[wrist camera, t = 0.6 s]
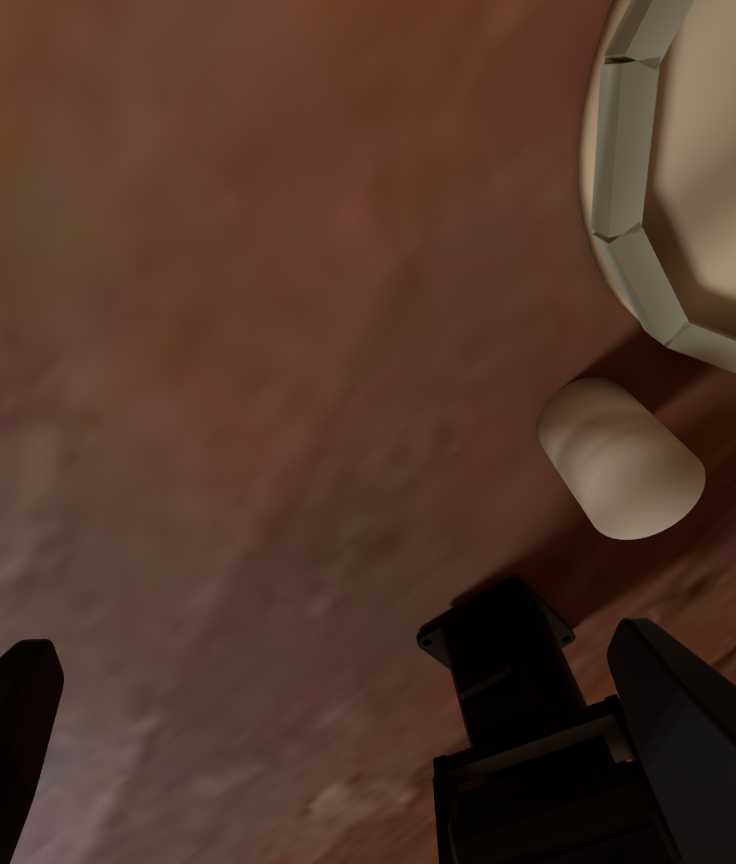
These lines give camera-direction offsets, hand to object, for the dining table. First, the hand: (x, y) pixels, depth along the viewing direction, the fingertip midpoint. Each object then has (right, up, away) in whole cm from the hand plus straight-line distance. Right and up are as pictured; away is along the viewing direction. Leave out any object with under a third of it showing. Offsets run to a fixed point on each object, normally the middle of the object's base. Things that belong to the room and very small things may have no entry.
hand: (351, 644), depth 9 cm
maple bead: (+9, +4, +14) cm, 17 cm away
